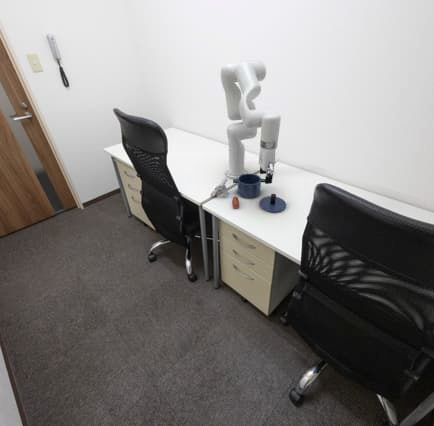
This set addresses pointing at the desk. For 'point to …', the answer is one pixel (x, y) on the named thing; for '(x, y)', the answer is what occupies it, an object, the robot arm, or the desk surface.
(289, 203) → the desk surface
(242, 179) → the pot
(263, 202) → the lid
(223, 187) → the tablet stand
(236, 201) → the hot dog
